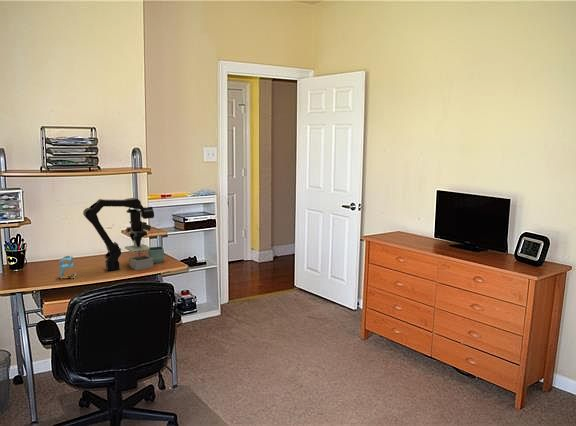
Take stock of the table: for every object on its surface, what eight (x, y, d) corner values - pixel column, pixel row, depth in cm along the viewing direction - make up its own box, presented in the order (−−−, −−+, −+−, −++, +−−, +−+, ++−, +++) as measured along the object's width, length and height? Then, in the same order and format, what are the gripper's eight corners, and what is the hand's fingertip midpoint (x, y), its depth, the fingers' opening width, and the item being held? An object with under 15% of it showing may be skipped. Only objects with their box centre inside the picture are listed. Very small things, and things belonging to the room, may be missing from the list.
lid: (131, 251, 294) (130, 243, 293) (124, 248, 302) (124, 239, 302) (150, 248, 300) (149, 240, 299) (143, 245, 309) (142, 237, 308)
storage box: (136, 271, 293) (136, 261, 292) (130, 267, 301) (129, 257, 300) (153, 268, 299) (152, 258, 298) (146, 264, 307) (145, 255, 306)
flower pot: (165, 263, 309) (164, 249, 308) (149, 265, 306) (149, 250, 304) (162, 260, 317) (162, 246, 316) (148, 261, 314) (147, 247, 313)
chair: (60, 276, 285) (58, 255, 283) (76, 275, 287) (74, 254, 285) (58, 280, 278) (55, 258, 276) (74, 279, 280) (72, 257, 278)
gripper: (155, 220, 296) (156, 247, 298) (143, 216, 311) (144, 241, 313) (136, 222, 289) (137, 249, 292) (124, 218, 304) (126, 244, 307)
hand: (137, 246), depth 301 cm, fingers closed on lid, 4 cm apart
